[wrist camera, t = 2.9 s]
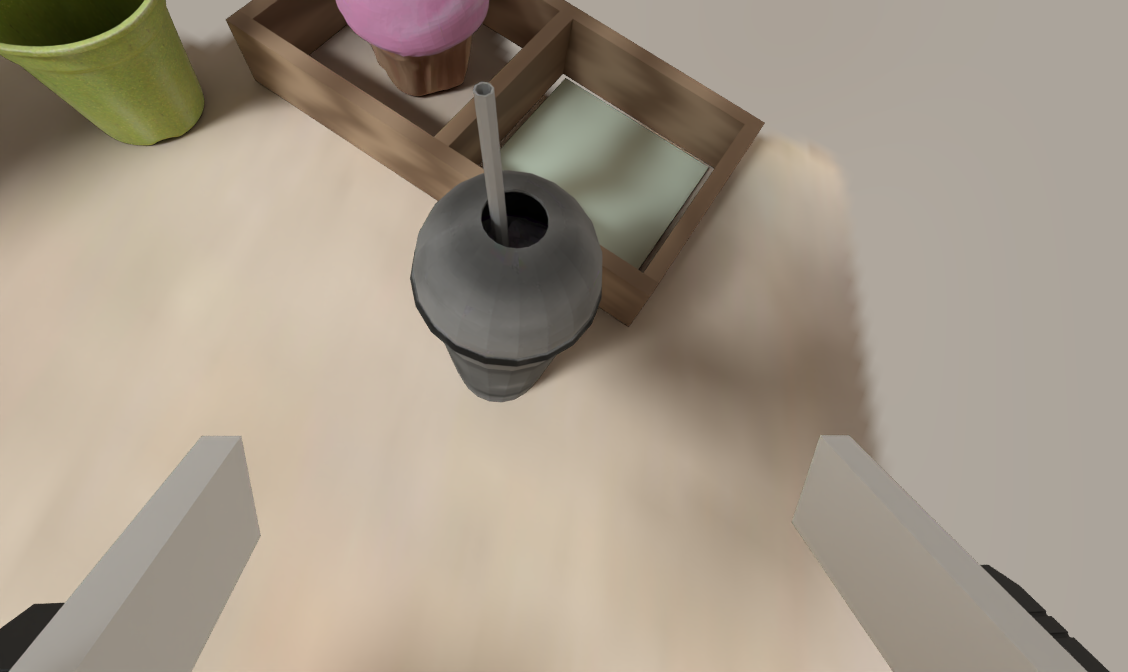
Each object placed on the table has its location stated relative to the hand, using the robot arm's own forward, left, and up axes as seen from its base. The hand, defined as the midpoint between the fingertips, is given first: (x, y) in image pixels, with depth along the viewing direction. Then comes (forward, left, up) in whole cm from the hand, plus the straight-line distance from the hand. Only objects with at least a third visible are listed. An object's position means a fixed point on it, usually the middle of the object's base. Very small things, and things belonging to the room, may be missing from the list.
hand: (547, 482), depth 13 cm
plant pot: (-32, +7, -17) cm, 37 cm away
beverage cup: (-5, +6, -17) cm, 19 cm away
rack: (-15, +20, -17) cm, 30 cm away
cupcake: (-22, +20, -17) cm, 35 cm away
